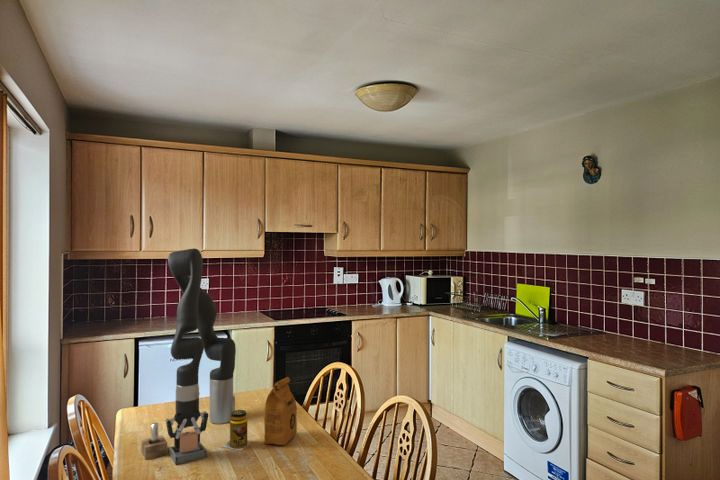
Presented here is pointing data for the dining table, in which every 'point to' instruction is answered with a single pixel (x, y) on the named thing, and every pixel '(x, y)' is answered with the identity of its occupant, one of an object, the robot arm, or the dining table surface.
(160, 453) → the go block
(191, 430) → the block
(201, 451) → the tray
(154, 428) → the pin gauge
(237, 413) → the condiment
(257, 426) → the dining table surface
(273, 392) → the coffee package
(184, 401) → the robot arm
